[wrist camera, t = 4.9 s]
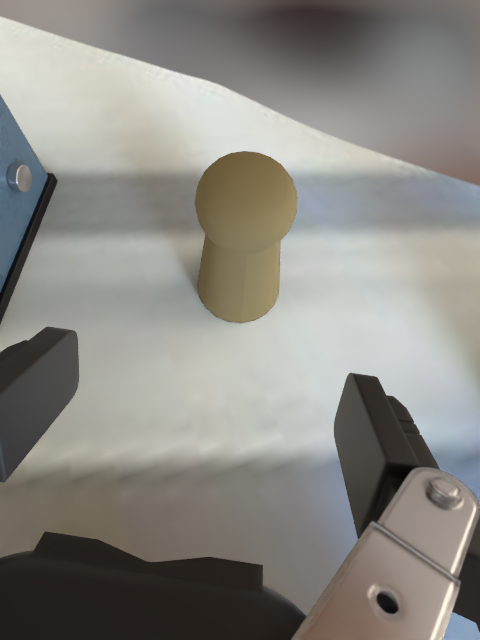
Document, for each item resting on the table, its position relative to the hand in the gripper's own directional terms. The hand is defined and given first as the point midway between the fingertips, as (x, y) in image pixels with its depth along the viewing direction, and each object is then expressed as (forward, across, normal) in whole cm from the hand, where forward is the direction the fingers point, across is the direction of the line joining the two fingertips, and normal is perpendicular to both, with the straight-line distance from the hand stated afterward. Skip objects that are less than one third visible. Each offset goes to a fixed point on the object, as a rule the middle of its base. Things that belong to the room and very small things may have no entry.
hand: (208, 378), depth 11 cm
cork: (+18, 0, +3) cm, 18 cm away
